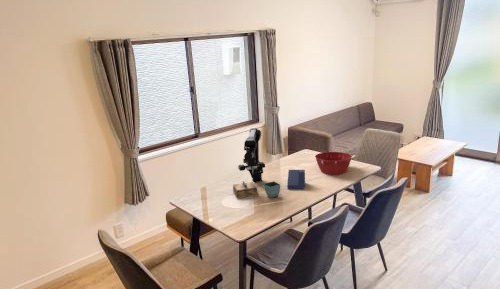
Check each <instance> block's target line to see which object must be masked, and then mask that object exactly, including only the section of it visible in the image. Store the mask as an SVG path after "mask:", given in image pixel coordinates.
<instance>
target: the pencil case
mask: <svg viewBox="0 0 500 289" xmlns="http://www.w3.org/2000/svg"><path fill="white" fill-rule="evenodd" d="M232 190H233V191H232V192H233V193H234V195H235V197H236V199H239V198H246V197H252V196H258V187H257V188H256V189H252V190H242V191H236V189H235V187H234V186H233V185H232Z"/></svg>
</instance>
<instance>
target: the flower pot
mask: <svg viewBox="0 0 500 289" xmlns="http://www.w3.org/2000/svg"><path fill="white" fill-rule="evenodd" d="M263 189H264V191H265V194H266V195H267V196H268V197H269V198H276V197H278V196H279V194H280V191H281V183H278V182H276V181H269V182H265V183H263Z"/></svg>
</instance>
